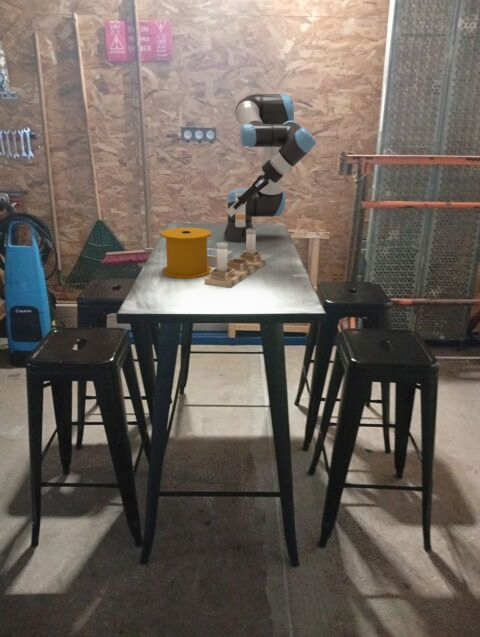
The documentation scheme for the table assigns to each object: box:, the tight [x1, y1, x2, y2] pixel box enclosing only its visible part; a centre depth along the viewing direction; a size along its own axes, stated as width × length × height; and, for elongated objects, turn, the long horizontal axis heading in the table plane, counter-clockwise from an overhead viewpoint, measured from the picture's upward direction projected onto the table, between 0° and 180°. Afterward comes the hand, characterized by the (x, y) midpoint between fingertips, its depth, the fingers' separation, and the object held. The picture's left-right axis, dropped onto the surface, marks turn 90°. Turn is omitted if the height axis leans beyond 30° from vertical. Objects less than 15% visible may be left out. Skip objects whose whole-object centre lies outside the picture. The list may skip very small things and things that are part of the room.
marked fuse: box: [235, 192, 246, 227], centre depth 176 cm, size 4×4×12 cm
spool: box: [161, 227, 212, 279], centre depth 179 cm, size 18×18×15 cm
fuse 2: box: [245, 227, 257, 256], centre depth 189 cm, size 4×4×12 cm
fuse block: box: [204, 250, 267, 288], centre depth 180 cm, size 34×10×4 cm, turn 156°
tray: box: [207, 247, 234, 268], centre depth 193 cm, size 11×11×4 cm
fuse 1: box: [216, 241, 229, 273], centre depth 167 cm, size 4×4×12 cm
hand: (230, 212), depth 177 cm, fingers open, 4 cm apart
